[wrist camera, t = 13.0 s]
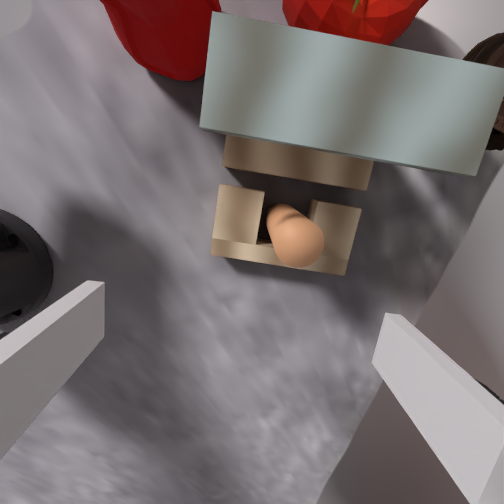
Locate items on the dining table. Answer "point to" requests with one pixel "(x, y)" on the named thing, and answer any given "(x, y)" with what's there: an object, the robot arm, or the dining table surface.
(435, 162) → the socket awning
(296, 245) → the peg
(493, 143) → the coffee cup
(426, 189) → the dining table surface
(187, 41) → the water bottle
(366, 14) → the tomato
